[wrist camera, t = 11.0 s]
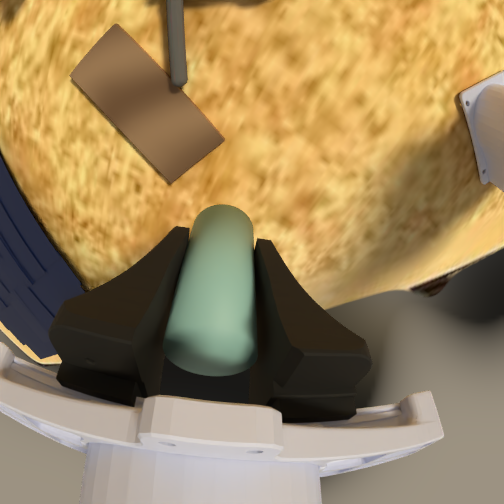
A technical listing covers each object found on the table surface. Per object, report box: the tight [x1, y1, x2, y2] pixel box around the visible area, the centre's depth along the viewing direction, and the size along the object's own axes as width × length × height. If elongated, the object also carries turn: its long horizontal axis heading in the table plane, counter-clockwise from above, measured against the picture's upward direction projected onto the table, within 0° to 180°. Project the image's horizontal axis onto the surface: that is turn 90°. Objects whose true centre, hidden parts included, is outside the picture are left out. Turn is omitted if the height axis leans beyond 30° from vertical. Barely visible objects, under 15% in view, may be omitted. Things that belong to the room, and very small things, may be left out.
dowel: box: [162, 205, 258, 376], centre depth 11 cm, size 3×3×7 cm
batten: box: [69, 24, 225, 183], centre depth 16 cm, size 12×5×1 cm, turn 37°
